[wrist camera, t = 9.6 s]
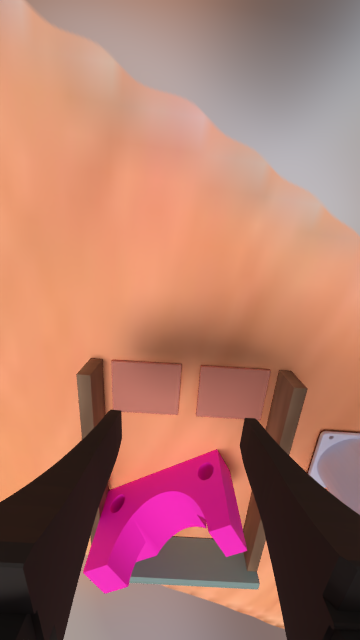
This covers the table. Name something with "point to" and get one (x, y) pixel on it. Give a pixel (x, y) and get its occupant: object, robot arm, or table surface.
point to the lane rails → (278, 426)
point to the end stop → (194, 566)
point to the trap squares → (164, 385)
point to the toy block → (163, 517)
